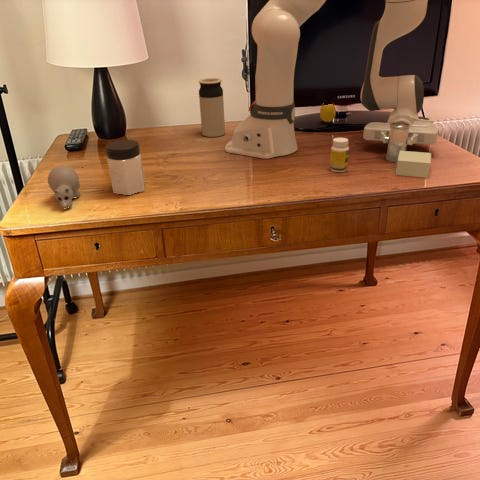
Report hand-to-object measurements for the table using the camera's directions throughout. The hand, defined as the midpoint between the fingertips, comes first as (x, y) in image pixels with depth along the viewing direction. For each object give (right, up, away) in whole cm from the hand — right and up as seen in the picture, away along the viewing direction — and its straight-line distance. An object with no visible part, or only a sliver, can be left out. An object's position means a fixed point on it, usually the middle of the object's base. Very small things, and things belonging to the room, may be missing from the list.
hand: (397, 141), depth 128 cm
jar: (-72, -14, -8) cm, 74 cm away
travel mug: (-53, +9, +31) cm, 62 cm away
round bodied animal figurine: (-87, -18, -13) cm, 90 cm away
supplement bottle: (-17, -8, -2) cm, 19 cm away
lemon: (-12, +14, +38) cm, 42 cm away
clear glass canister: (+1, -4, +3) cm, 6 cm away
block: (+2, -9, -5) cm, 10 cm away
